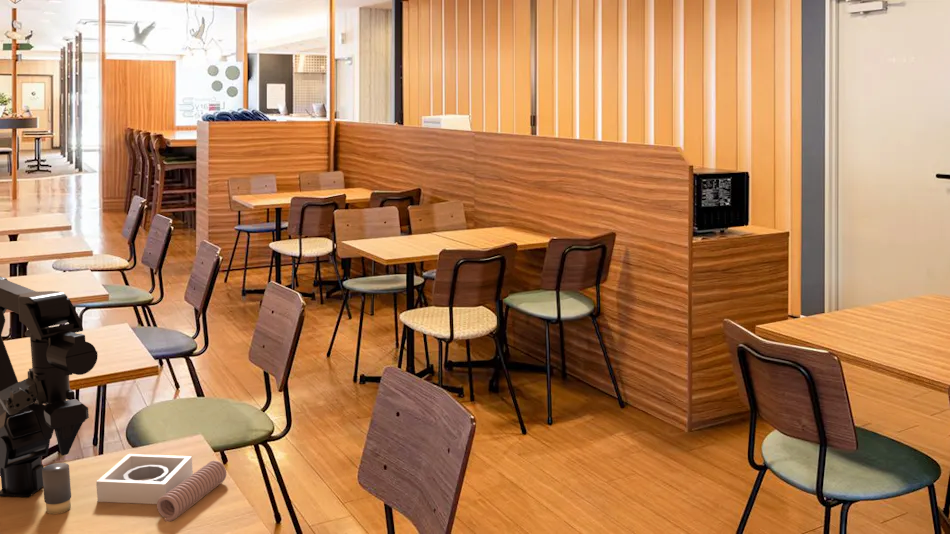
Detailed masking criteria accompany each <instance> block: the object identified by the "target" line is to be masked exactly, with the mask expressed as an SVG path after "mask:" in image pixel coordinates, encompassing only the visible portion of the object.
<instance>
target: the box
mask: <svg viewBox="0 0 950 534" xmlns="http://www.w3.org/2000/svg"><path fill="white" fill-rule="evenodd" d="M192 474H194V471H193V456H191V455H168V454H167V455H166V454H165V455H164V454H140V453H128V454H126V455H125V456H124V457H123V458H121V460H120V461H118V462H117V463H116V464H115V465H113V467H111V468H110V469H109V470H108V471H107V472H105V474H103V475H102V476H100V477H99V479H97V480H96V486H95V487H96V498H97V499H96V500H97V502H98V503H99V502H100V503H119V504H120V503H122V504H123V503H124V504H125V503H126V504H146V505H147V504H148V505H157V502H158V500H159V498H160V497H162V496H163V495H165V494H166V493H167V492H169V491H170V490H172V489H173V488H174V487H176V486H177V485H179V484H180V483H181V482H183V481H184V480H186V479H187V478H188V477H190V476H191V475H192Z"/></svg>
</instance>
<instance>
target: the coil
mask: <svg viewBox="0 0 950 534" xmlns="http://www.w3.org/2000/svg"><path fill="white" fill-rule="evenodd" d="M226 477H227V469H226V467H225V465H224V463H222V462H221V461H219V460H211V461H209V462H208V463H207V464H205V465H203V466H202V467H201V468H200V469H198V470H196V472H193V474H192V475H191V476H190V477H188V478H187V479H186V480H184V481H183V482H181V483H180V484H179V485H177V486H176V487H174V488H173V489H172V490H170V491H169V492H167V493H166V494H165V495H163V496H162V497H160V498H159V500H158V502H157V504H156V508H157V511H158V513H159V514H160V516H161V517H163V518H164V521H165V522H173V521H175V520H176V519H177V518H178V517H180V516H181V515H182V514H184V513H185V512H186V511H187V510H189V509H190V508H191V507H192V506H195V504H196V503H198V502H199V501H200V500H201V499H203V498H204V497H205V496H207V495H208V494H209V493H210V492H212V491H213V490H215V488H217V487H218V486H219V485H220V484H221V483H223V482H224V481H225V480H226Z"/></svg>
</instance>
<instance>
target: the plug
mask: <svg viewBox="0 0 950 534" xmlns="http://www.w3.org/2000/svg"><path fill="white" fill-rule="evenodd" d="M70 473H71V472H70V465H69V463H66V462H57V463H50V464H48V465H45V466H43V469H42V477H43V487H42V489H43V497H44V500H43V501H44V504H45V509H46V511H45V512H46V513H47V514H50V515H58V514H59V515H60V514H63V513H66V512H68V511H69V510H70V509H71V508H72V503H71V499H72V487H71V474H70Z"/></svg>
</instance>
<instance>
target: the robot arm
mask: <svg viewBox="0 0 950 534" xmlns="http://www.w3.org/2000/svg"><path fill="white" fill-rule="evenodd" d="M7 310H8V311H10V312H13V313H15V314H17V315H18V318H19V323H21V324H23V325H24V326H25V327H26V331H25V332H24V335H25V337H28V338H30V341H29V343H30V353H31V356H30V357H31V366H32V367H31V368H28V371H27V378H25V379H23V380H20V381H19V380H18V378H17V375H16V373H15V369H14V367H13V365H12V361H11V359H10V356H9V354H8V350H7V348H6V345H5V342H4V340H3V339H4V338H3V336H2V334H3V330H4V327H5V323H6V317H5V313H6V312H7ZM83 331H84V328H83V325H82V319H81V317H80V316H79V314H78V312H77V310H76V309H75V307H74V304H73V303H72V300H71V299H70V298H69V297H68V295H67V294H66V293H65V292H62V291H59V290H58V291H55V290H54V291H53V290H46V291H37V290H33V289H31V288H28V287H25V286H23V285H21V284H18V283H15V282H13V281H10V280H8V278H6V277H3V276H0V482H1V483H0V484H1V489H0V497H18V498H20V497H21V498H28V497H31V496H33V495H34V494H35V493H36V492H38V491H39V490H41V489H43V477H42V469H43V468H44V464H42V460H41V457H43V456H44V457H45V456H48V455H49V450H50V442H51V439H52V438H53V435H54V434H55V437H56V440H57V441H56V442H57V445H58V449H59V452H60V455H61V456H66V455H68V454H69V453H70V451H71V448H72V447H73V445H74V442H75V439H76V437H77V435H78V433H79V431H80V430H81V427H82V425H83V423H84V422H86V421H87V419H90V417H89V416H90V414H89V407H88V406H86V405H85V404H84V403H83V402H82V401H80V400H79V399H76V398H74V397H75V391H74V390H73V389H71V386H70V385H71V383H70V376H71V375H77V376H78V375H79V376H80V375H82V376H83V375H85V374H88V373H89V372H91V371H92V370H93V368H94V367H95V365H96V364H97V361H98V351H97V350H96V347H95V346H94V345H93V344H92V343H90V342H89V341H86V335H85V334H83V333H79V332H83ZM69 398H74V399H69ZM67 399H68V400H67Z"/></svg>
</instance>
